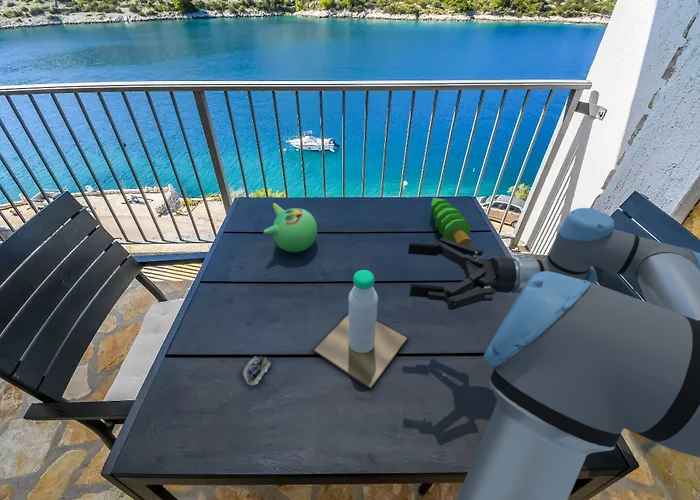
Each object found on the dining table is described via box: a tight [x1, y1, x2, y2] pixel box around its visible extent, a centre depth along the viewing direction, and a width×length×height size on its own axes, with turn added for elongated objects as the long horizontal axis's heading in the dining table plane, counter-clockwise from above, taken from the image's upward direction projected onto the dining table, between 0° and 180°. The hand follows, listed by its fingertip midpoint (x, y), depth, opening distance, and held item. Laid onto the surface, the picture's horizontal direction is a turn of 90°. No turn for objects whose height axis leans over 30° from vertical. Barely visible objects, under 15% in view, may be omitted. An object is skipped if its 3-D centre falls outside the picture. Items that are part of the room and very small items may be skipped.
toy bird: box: [263, 202, 318, 253], centre depth 124 cm, size 18×17×15 cm
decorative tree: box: [429, 197, 472, 247], centre depth 133 cm, size 11×12×30 cm
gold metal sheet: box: [313, 314, 408, 390], centre depth 94 cm, size 18×18×1 cm
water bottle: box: [347, 269, 379, 353], centre depth 86 cm, size 7×7×25 cm
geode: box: [242, 355, 272, 387], centre depth 88 cm, size 7×8×2 cm
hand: (409, 267), depth 75 cm, fingers open, 13 cm apart
